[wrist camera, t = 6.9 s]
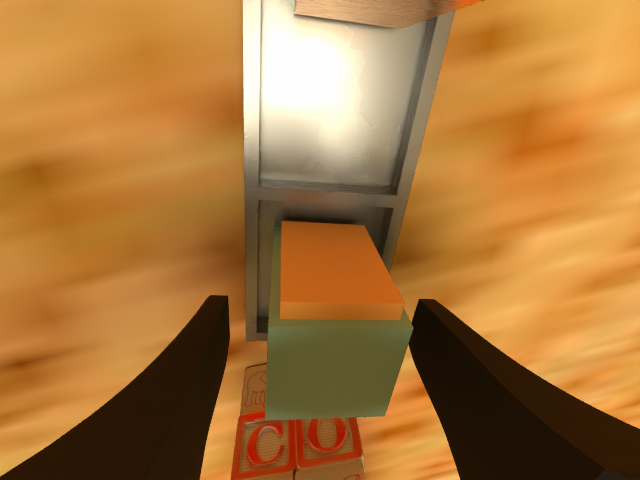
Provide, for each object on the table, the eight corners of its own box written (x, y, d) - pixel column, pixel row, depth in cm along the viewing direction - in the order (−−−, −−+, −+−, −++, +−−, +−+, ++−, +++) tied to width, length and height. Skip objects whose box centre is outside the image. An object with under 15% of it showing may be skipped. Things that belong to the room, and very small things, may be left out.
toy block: (271, 300, 15) (265, 420, 10) (274, 213, 13) (268, 309, 8) (351, 301, 16) (384, 416, 11) (367, 218, 14) (419, 311, 8)
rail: (249, 313, 17) (230, 455, 11) (249, -245, 8) (135, -1286, 2) (363, 314, 18) (406, 446, 12) (474, -189, 9) (905, -768, 3)
